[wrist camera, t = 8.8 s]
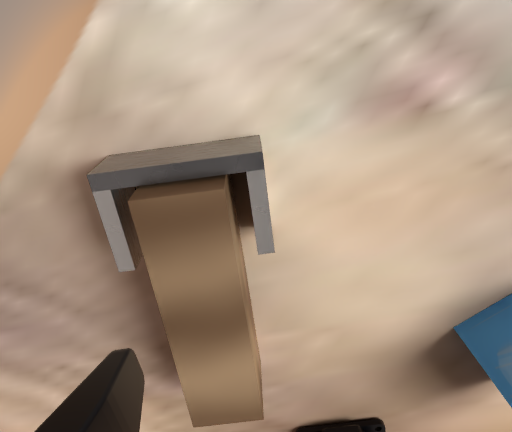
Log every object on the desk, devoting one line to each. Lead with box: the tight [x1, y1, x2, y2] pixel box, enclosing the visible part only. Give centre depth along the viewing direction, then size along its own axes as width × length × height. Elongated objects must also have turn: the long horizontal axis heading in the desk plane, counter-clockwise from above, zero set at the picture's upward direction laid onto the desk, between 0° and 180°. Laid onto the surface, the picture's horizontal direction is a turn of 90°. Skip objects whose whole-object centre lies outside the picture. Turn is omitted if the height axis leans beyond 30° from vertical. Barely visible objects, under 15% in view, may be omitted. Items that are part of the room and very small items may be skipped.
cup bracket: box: [87, 135, 275, 272], centre depth 19 cm, size 5×8×3 cm, turn 97°
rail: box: [128, 174, 264, 427], centre depth 21 cm, size 14×4×4 cm, turn 7°
